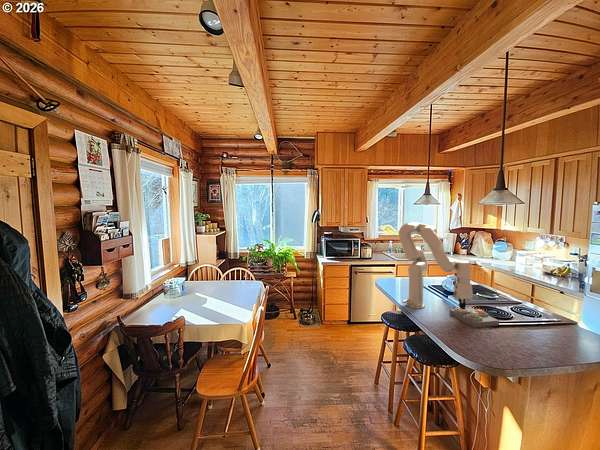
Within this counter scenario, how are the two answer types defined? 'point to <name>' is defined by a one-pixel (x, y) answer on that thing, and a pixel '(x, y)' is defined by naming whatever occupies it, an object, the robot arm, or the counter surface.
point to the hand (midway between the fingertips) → (462, 308)
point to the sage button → (474, 314)
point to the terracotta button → (480, 311)
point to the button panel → (481, 321)
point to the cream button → (462, 309)
